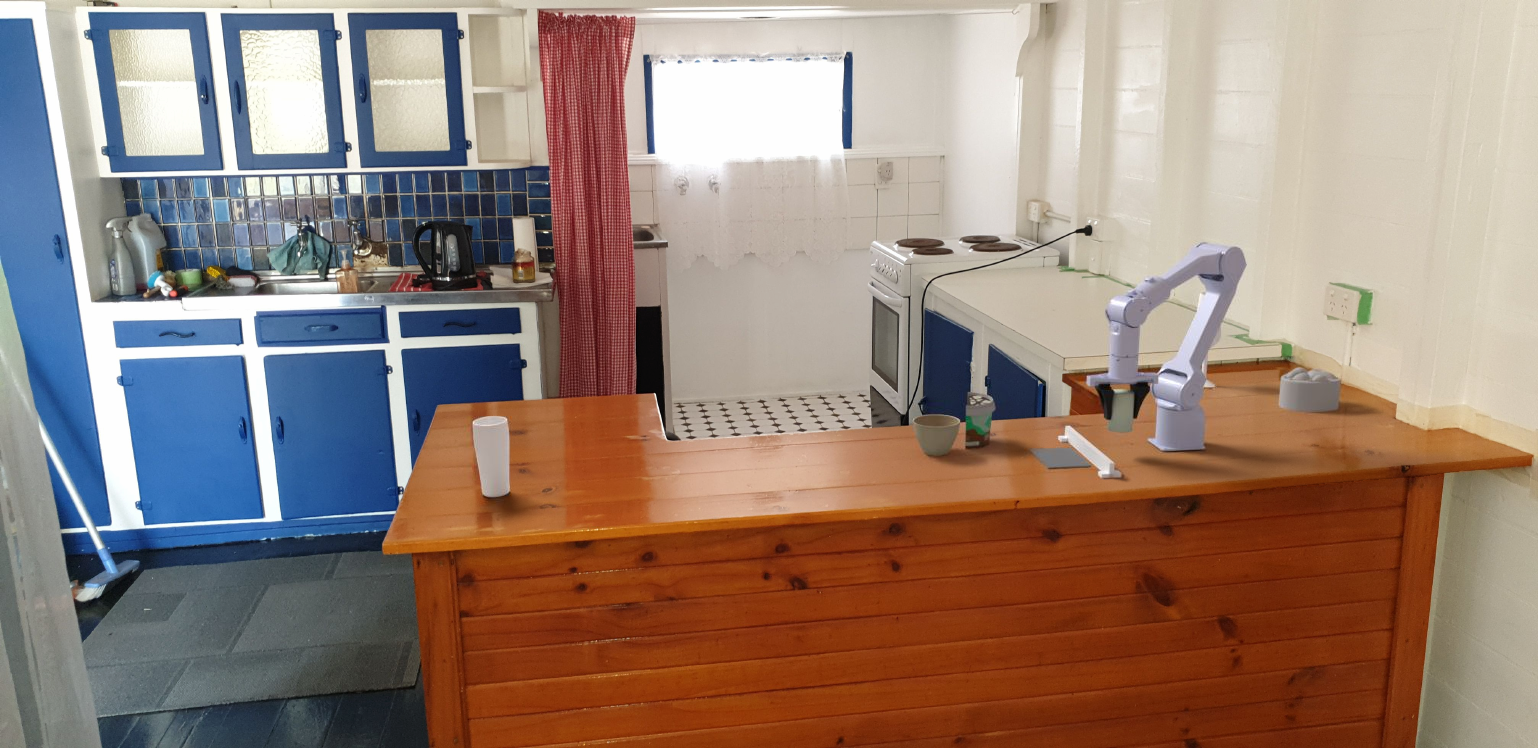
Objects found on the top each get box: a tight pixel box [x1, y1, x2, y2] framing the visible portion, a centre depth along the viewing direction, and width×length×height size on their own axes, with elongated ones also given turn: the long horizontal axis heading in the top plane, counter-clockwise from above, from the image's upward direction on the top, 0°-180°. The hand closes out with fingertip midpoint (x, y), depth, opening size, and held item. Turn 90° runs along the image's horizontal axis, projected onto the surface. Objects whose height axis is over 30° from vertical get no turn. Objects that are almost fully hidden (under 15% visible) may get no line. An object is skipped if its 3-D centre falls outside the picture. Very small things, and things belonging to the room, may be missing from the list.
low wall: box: [1057, 425, 1122, 479], centre depth 234 cm, size 4×26×3 cm, turn 5°
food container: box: [964, 391, 996, 450], centre depth 244 cm, size 12×6×10 cm, turn 168°
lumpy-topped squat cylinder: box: [1278, 366, 1342, 413], centre depth 267 cm, size 10×13×9 cm
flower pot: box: [912, 414, 961, 457], centre depth 239 cm, size 10×10×7 cm
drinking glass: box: [472, 415, 511, 498], centre depth 219 cm, size 7×7×15 cm
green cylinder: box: [1106, 388, 1135, 434], centre depth 232 cm, size 5×5×8 cm
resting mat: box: [1029, 447, 1092, 470], centre depth 234 cm, size 9×12×1 cm
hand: (1120, 418), depth 233 cm, fingers closed on green cylinder, 5 cm apart
